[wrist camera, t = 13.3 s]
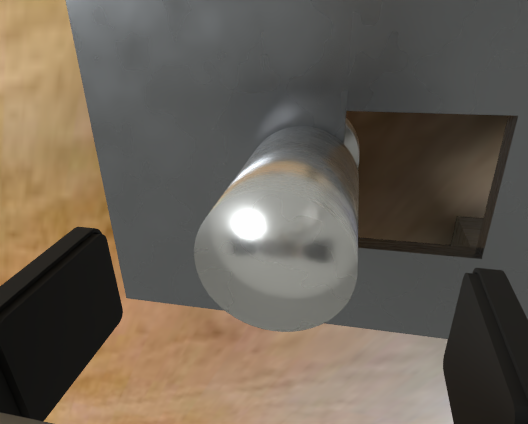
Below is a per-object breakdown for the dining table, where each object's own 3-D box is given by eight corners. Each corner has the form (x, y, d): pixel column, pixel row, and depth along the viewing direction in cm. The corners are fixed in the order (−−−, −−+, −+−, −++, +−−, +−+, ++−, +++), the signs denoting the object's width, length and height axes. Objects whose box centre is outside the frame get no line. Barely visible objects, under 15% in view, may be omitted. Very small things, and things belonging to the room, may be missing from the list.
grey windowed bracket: (575, -22, 20) (692, -36, 13) (497, 261, 27) (545, 351, 20) (149, -10, 24) (62, -16, 17) (179, 232, 31) (126, 298, 24)
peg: (363, 105, 21) (365, 197, 11) (355, 195, 23) (350, 341, 13) (266, 102, 22) (186, 185, 12) (267, 189, 24) (201, 321, 14)
